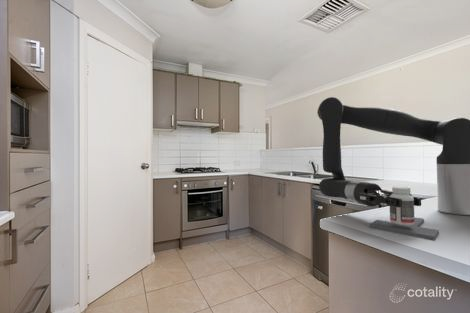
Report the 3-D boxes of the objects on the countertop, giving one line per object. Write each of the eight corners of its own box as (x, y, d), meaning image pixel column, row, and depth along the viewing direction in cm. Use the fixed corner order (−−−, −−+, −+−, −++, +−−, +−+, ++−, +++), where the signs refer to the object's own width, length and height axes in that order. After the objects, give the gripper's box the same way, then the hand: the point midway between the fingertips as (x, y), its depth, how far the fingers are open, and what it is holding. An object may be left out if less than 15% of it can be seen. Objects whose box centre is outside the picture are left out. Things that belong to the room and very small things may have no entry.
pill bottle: (415, 222, 60) (415, 187, 60) (412, 227, 57) (412, 189, 57) (392, 219, 64) (391, 185, 64) (387, 223, 61) (387, 187, 61)
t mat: (387, 215, 75) (387, 213, 75) (443, 224, 65) (443, 221, 65) (369, 227, 63) (369, 224, 63) (434, 239, 53) (434, 236, 53)
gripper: (343, 182, 73) (386, 189, 57) (380, 181, 76) (432, 187, 59) (343, 205, 73) (387, 218, 57) (381, 202, 76) (433, 215, 59)
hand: (410, 202), depth 58 cm, fingers closed on pill bottle, 5 cm apart
